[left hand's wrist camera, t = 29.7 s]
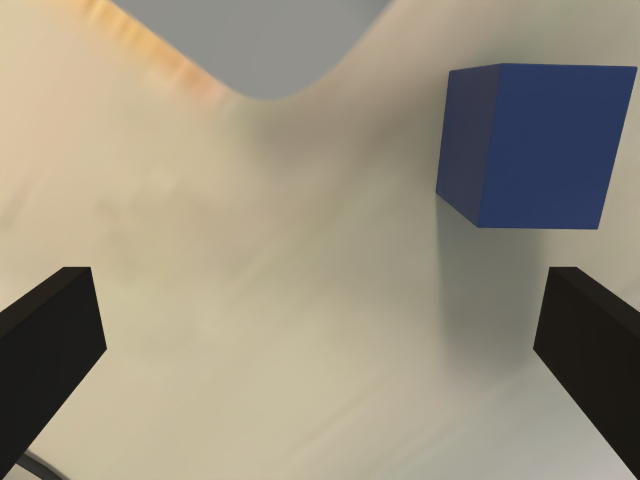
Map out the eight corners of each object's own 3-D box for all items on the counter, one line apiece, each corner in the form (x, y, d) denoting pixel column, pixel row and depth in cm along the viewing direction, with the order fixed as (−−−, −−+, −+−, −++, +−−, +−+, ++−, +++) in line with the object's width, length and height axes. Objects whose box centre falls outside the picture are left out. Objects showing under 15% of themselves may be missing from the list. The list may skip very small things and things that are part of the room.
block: (435, 192, 28) (477, 227, 21) (449, 70, 25) (502, 62, 18) (525, 194, 28) (598, 230, 21) (548, 73, 25) (638, 66, 18)
